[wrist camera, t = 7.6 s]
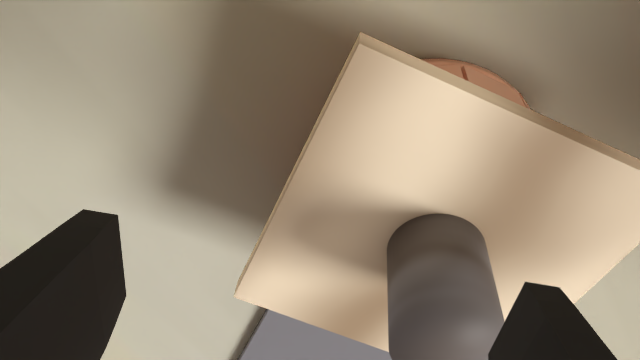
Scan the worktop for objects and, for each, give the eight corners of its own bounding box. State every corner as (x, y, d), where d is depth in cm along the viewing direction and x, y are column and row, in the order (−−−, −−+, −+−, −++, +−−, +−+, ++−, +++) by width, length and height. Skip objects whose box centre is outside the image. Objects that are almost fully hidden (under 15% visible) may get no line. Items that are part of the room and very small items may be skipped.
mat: (232, 369, 29) (230, 375, 28) (313, 227, 23) (312, 234, 22) (416, 430, 31) (416, 437, 30) (537, 315, 24) (539, 322, 24)
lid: (238, 279, 19) (206, 389, 16) (360, 32, 14) (354, 113, 10) (481, 368, 21) (503, 485, 17) (679, 177, 15) (771, 292, 12)
